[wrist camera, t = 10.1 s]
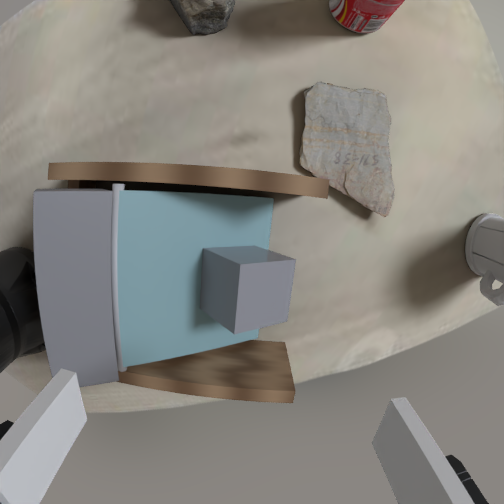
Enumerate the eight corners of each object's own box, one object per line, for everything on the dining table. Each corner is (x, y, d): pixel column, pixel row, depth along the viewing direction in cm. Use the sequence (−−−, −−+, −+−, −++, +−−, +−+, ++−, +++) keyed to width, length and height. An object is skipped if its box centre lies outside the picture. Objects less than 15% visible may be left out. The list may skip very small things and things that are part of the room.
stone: (384, 214, 34) (393, 217, 32) (297, 211, 34) (300, 213, 32) (385, 92, 31) (393, 87, 29) (298, 81, 31) (302, 74, 29)
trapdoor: (51, 364, 24) (56, 394, 20) (36, 182, 21) (34, 184, 17) (242, 331, 38) (268, 348, 34) (256, 191, 35) (287, 195, 31)
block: (199, 308, 30) (234, 334, 25) (203, 247, 29) (240, 264, 24) (249, 300, 34) (287, 321, 29) (254, 245, 32) (295, 259, 28)
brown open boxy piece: (88, 327, 37) (50, 363, 27) (86, 166, 32) (37, 163, 23) (283, 352, 37) (292, 403, 27) (306, 181, 33) (329, 179, 23)
